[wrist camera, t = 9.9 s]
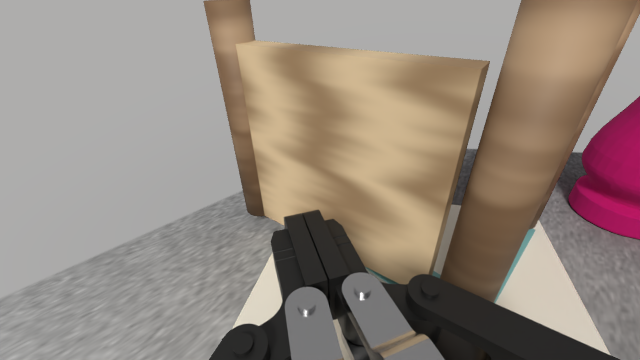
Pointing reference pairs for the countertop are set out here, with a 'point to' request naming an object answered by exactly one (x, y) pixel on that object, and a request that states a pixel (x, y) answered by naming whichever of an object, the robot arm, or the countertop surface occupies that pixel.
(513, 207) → the fixed panel
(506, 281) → the mat
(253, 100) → the swing panel
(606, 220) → the pepper mill
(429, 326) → the robot arm
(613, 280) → the countertop surface
